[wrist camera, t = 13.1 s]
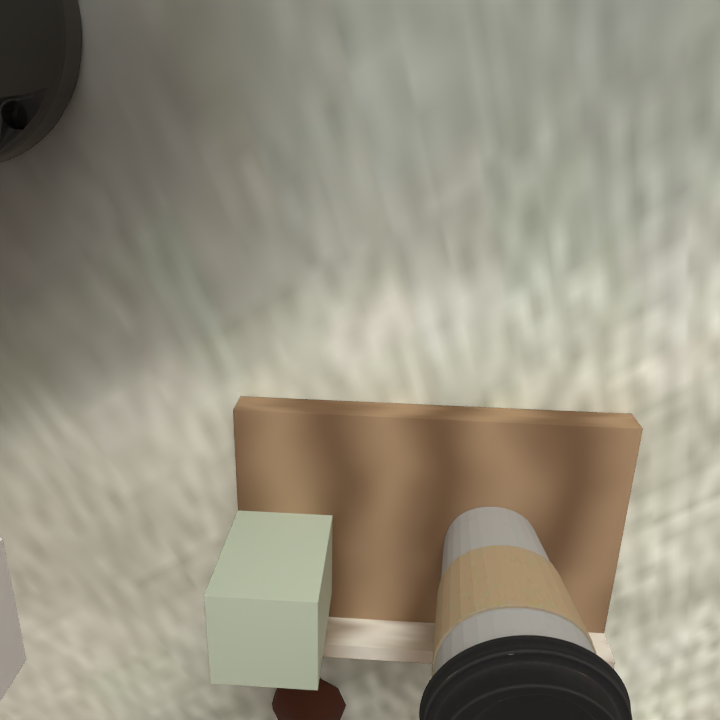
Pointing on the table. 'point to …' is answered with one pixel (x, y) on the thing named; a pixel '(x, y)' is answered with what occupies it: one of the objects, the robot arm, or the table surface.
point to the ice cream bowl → (309, 703)
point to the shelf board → (436, 501)
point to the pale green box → (270, 601)
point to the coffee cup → (512, 632)
